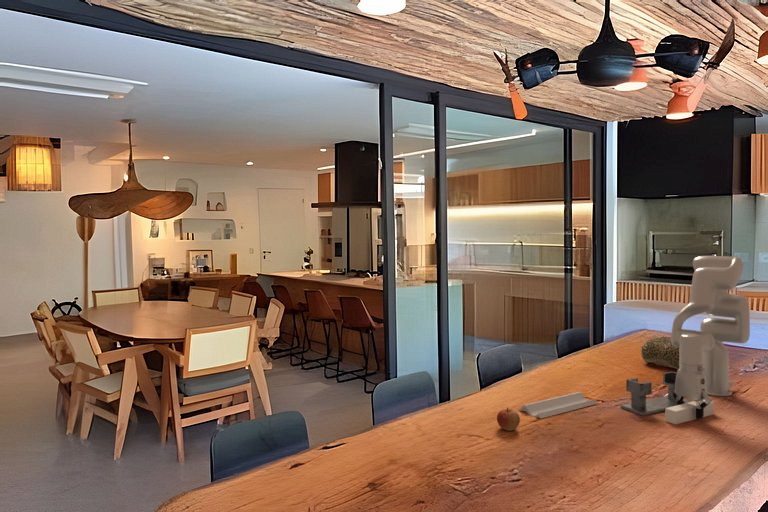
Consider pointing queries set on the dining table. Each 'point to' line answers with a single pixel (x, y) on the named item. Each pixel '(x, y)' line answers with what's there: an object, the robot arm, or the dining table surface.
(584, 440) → the dining table surface
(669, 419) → the rail
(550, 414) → the crown molding
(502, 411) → the apple
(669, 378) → the bracket stand
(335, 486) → the dining table surface
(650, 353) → the coral
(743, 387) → the dining table surface
